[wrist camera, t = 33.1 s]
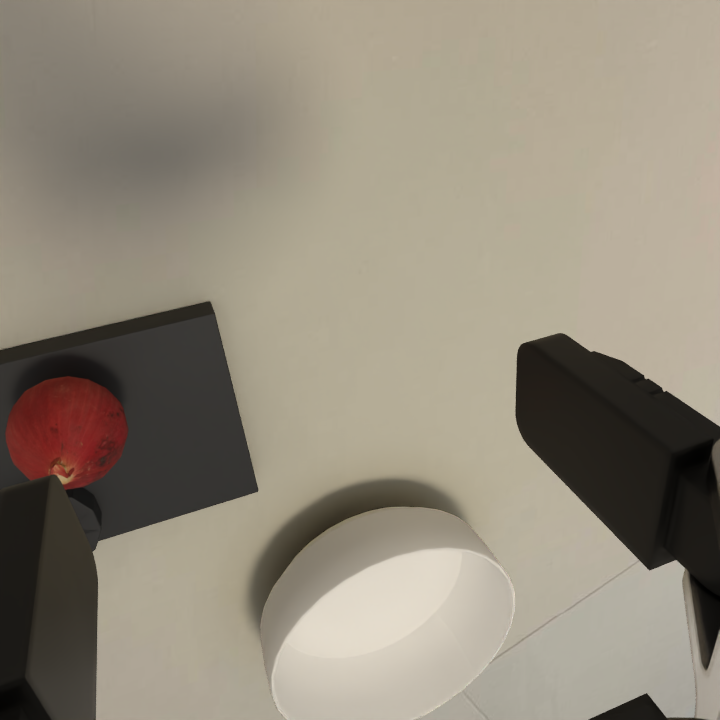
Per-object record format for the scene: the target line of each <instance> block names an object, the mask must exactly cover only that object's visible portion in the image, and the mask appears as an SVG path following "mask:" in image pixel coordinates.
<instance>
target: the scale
mask: <svg viewBox="0 0 720 720" xmlns="http://www.w3.org/2000/svg"><path fill="white" fill-rule="evenodd" d="M66 376H70V377H77V378H83V379H89V380H91V381H93V382H95V383H97V384H99V385H101V386H103V387H105V388H107V389H108V390H109V391H110V392H111V393H112V394H113V395H114V396H115V397H116V398H117V399H118V400H119V401H120V402H121V405H122V407H123V409H124V413H125V417H126V421H127V425H128V434H127V439H126V442H125V445H124V448H123V452H122V455H121V457H120V458H119V460H118V461H117V462H116V463H115V465H114V466H113V467H112V468H111V469H110V470H109V471H108V472H107V473H106V475H105V476H104V477H102V478H101V479H99V480H97V481H95V482H93V483H91V484H89V485H86V486H84V487H80V488H74V489H67V490H65V491H66V493H67V495H68V498H69V500H70V502H71V504H72V506H73V509H74V511H75V513H76V515H77V517H78V520H79V522H80V524H81V526H82V528H83V531H84V533H85V535H86V537H87V539H88V542H89V544H90V547H91V549H92V552H93V551H94V550H95V549H96V546H97V543H98V541H100V540H103V539H107V538H110V537H113V536H116V535H120V534H123V533H126V532H129V531H133V530H136V529H139V528H142V527H145V526H149V525H152V524H155V523H158V522H162V521H165V520H168V519H171V518H174V517H178V516H181V515H184V514H187V513H191V512H194V511H197V510H200V509H204V508H207V507H210V506H213V505H216V504H220V503H223V502H226V501H229V500H233V499H236V498H239V497H242V496H245V495H249V494H252V493H255V492H258V487H257V483H256V479H255V475H254V470H253V466H252V462H251V458H250V454H249V450H248V446H247V442H246V438H245V434H244V430H243V426H242V422H241V418H240V414H239V410H238V406H237V402H236V397H235V393H234V389H233V385H232V381H231V377H230V373H229V369H228V365H227V361H226V357H225V353H224V349H223V345H222V341H221V337H220V333H219V329H218V324H217V320H216V316H215V313H214V310H213V307H212V304H211V302H206V303H202V304H198V305H193V306H189V307H185V308H181V309H176V310H172V311H168V312H163V313H159V314H155V315H151V316H146V317H142V318H138V319H133V320H129V321H125V322H121V323H116V324H112V325H108V326H103V327H99V328H95V329H91V330H86V331H82V332H78V333H73V334H69V335H65V336H61V337H56V338H52V339H48V340H43V341H39V342H35V343H31V344H26V345H22V346H18V347H13V348H9V349H5V350H1V351H0V490H1V489H2V488H6V487H10V486H13V485H17V484H20V483H24V482H27V481H31V480H29V479H28V478H27V477H26V476H25V475H24V474H23V473H22V472H21V471H20V470H19V469H18V468H17V467H16V466H15V465H14V463H13V461H12V459H11V456H10V453H9V449H8V446H7V443H6V435H5V432H6V427H7V422H8V417H9V414H10V412H11V410H12V408H13V406H14V405H15V403H16V402H17V401H18V399H19V398H20V397H21V396H22V394H23V393H24V392H25V391H26V390H28V389H30V388H32V387H33V386H35V385H37V384H39V383H41V382H43V381H45V380H48V379H54V378H60V377H66Z"/></svg>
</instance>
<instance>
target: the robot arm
mask: <svg viewBox="0 0 720 720" xmlns="http://www.w3.org/2000/svg"><path fill="white" fill-rule="evenodd" d="M516 421H517V425H518V428H519V431H520V433H521V435H522V437H523V439H524V441H525V442H526V444H527V445H528V446H529V447H530V448H531V449H532V450H533V451H534V452H535V453H536V454H537V455H538V456H539V457H540V458H541V459H542V460H543V461H544V463H545V464H546V465H547V466H548V467H549V468H550V469H551V470H552V471H553V472H554V473H555V474H556V475H557V476H558V477H559V478H560V479H561V480H562V481H563V482H564V483H565V484H566V485H567V486H568V487H569V488H570V489H571V490H572V491H573V492H574V493H575V494H576V495H577V496H578V497H579V499H580V500H581V501H582V502H583V503H584V504H585V505H586V506H587V507H588V508H589V509H590V510H591V511H592V512H593V513H594V514H595V515H596V516H597V517H598V518H599V519H600V520H601V521H602V522H603V523H604V524H605V525H606V526H607V527H608V528H609V529H610V530H611V531H612V532H613V533H614V534H615V536H616V537H617V538H618V539H619V540H620V541H621V542H622V543H623V544H624V545H625V546H626V547H627V548H628V549H629V550H630V551H631V552H632V553H633V554H634V555H635V556H636V557H637V558H638V559H639V560H640V561H641V562H642V563H643V564H644V565H645V566H646V567H647V568H648V569H649V570H652V569H654V568H657V567H659V566H662V565H664V564H667V563H669V562H672V561H674V560H677V561H678V562H679V563H680V564H681V565H682V566H683V567H685V571H684V575H683V580H682V582H683V593H684V600H685V608H686V616H687V624H688V631H689V639H690V647H691V654H692V662H693V670H694V678H695V688H696V705H695V716H694V718H666V717H665V715H664V714H663V713H662V712H661V710H660V709H659V708H658V707H657V705H656V704H655V703H654V702H653V700H652V699H651V698H650V697H649V695H648V694H647V693H646V694H644V695H642V696H640V697H637V698H635V699H633V700H631V701H629V702H626V703H624V704H622V705H620V706H618V707H615V708H613V709H611V710H609V711H607V712H604V713H602V714H600V715H598V716H596V717H593V718H591V719H589V720H720V427H719V426H718V425H716V424H715V423H713V422H712V421H710V420H709V419H707V418H706V417H704V416H703V415H701V414H700V413H698V412H697V411H696V410H694V409H693V408H691V407H690V406H688V405H687V404H685V403H684V402H682V401H681V400H679V399H678V398H676V397H675V396H673V395H672V394H670V393H669V392H667V391H665V392H663V390H662V388H661V387H660V386H659V385H657V384H656V383H654V382H653V381H651V380H650V379H645V378H644V375H642V374H641V373H639V372H638V371H636V370H635V369H633V368H632V367H630V366H629V365H627V364H626V363H624V362H623V361H621V360H618V359H615V358H612V357H609V356H606V355H604V354H601V353H598V352H595V351H593V352H590V351H588V350H587V349H586V348H584V347H583V346H581V345H580V344H578V343H577V342H576V341H574V340H573V339H571V338H570V337H568V336H567V335H565V334H562V333H558V334H555V335H551V336H547V337H544V338H540V339H537V340H533V341H530V342H526V343H523V344H522V345H521V346H520V347H519V349H518V353H517V377H516ZM97 609H98V577H97V570H96V564H95V560H94V556H93V553H92V549H91V547H90V544H89V542H88V539H87V537H86V535H85V533H84V531H83V528H82V526H81V524H80V522H79V520H78V517H77V515H76V513H75V511H74V509H73V506H72V504H71V502H70V500H69V498H68V495H67V493H66V491H65V489H64V487H63V485H62V483H61V481H60V479H59V478H58V477H57V476H56V475H55V474H52V475H49V476H45V477H42V478H38V479H34V480H31V481H27V482H24V483H20V484H17V485H13V486H10V487H6V488H2V489H1V490H0V720H96V669H97Z"/></svg>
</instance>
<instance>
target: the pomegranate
mask: <svg viewBox="0 0 720 720" xmlns="http://www.w3.org/2000/svg"><path fill="white" fill-rule="evenodd" d="M127 434H128V425H127V421H126V417H125V413H124V409H123V407H122V405H121V402H120V401H119V400H118V399H117V398H116V397H115V396H114V395H113V394H112V393H111V392H110V391H109V390H108V389H107V388H105V387H103V386H101V385H99V384H97V383H95V382H93V381H91V380H89V379H83V378H77V377H70V376H66V377H60V378H54V379H48V380H45V381H43V382H41V383H39V384H37V385H35V386H33V387H32V388H30V389H28V390H26V391H25V392H24V393H23V394H22V396H21V397H20V398H19V399H18V401H17V402H16V403H15V405H14V406H13V408H12V410H11V412H10V414H9V417H8V422H7V427H6V432H5V435H6V443H7V446H8V449H9V453H10V456H11V459H12V461H13V463H14V465H15V466H16V467H17V468H18V469H19V470H20V471H21V472H22V473H23V474H24V475H25V476H26V477H27V478H28V479H29V480H34V479H38V478H42V477H45V476H49V475H52V474H55V475H56V476H57V477H58V478H59V479H60V481H61V483H62V485H63V487H64V489H65V490H67V489H74V488H80V487H84V486H86V485H89V484H91V483H93V482H95V481H97V480H99V479H101V478H102V477H104V476H105V475H106V473H107V472H108V471H109V470H110V469H111V468H112V467H113V466H114V465H115V463H116V462H117V461H118V460H119V458H120V457H121V455H122V452H123V448H124V445H125V442H126V439H127Z"/></svg>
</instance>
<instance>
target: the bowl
mask: <svg viewBox="0 0 720 720" xmlns="http://www.w3.org/2000/svg"><path fill="white" fill-rule="evenodd" d="M514 611H515V591H514V588H513V585H512V582H511V579H510V576H509V574H508V573H507V572H506V570H505V569H504V568H503V566H502V565H501V564H500V562H499V561H498V560H497V558H496V557H495V556H494V554H493V553H492V552H491V550H490V549H489V548H488V546H487V545H486V544H485V543H484V541H483V540H482V539H481V538H480V537H479V536H478V534H477V533H476V532H475V531H474V530H473V529H472V527H471V526H470V525H468V524H467V523H466V522H464V521H463V520H461V519H460V518H459V517H457V516H455V515H452V514H450V513H447V512H444V511H442V510H438V509H431V508H424V507H386V508H381V509H376V510H371V511H367V512H364V513H361V514H359V515H356V516H353V517H350V518H348V519H345V520H344V521H342V522H340V523H338V524H336V525H334V526H332V527H331V528H329V529H327V530H326V531H324V532H323V533H322V534H320V535H319V536H317V537H316V538H315V539H313V540H312V541H311V542H309V543H308V544H307V545H306V546H305V547H304V548H303V549H302V550H301V551H300V552H299V553H298V554H297V555H296V556H295V558H294V559H293V560H292V562H291V563H290V564H289V566H288V567H287V568H286V570H285V571H284V573H283V574H282V575H281V577H280V578H279V579H278V581H277V582H276V584H275V585H274V586H273V588H272V590H271V592H270V595H269V597H268V599H267V601H266V603H265V605H264V609H263V614H262V618H261V623H260V631H261V644H262V651H263V658H264V665H265V670H266V674H267V679H268V683H269V688H270V693H271V695H272V698H273V700H274V703H275V706H276V708H277V709H278V710H279V712H280V713H281V714H282V715H283V716H284V718H285V719H286V720H415V719H417V718H419V717H422V716H424V715H426V714H427V713H429V712H431V711H432V710H434V709H436V708H438V707H439V706H441V705H443V704H444V703H446V702H447V701H448V700H450V699H451V698H453V697H454V696H455V695H457V694H458V693H459V692H461V691H462V690H463V689H464V688H466V687H467V686H468V685H469V684H470V683H471V682H472V681H473V680H474V679H475V678H476V677H478V676H479V675H480V673H481V672H482V671H483V670H484V669H485V668H486V666H487V665H488V664H489V663H490V662H491V661H492V660H493V658H494V657H495V655H496V654H497V652H498V650H499V649H500V647H501V646H502V644H503V643H504V641H505V639H506V636H507V634H508V632H509V629H510V627H511V625H512V620H513V616H514Z"/></svg>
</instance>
